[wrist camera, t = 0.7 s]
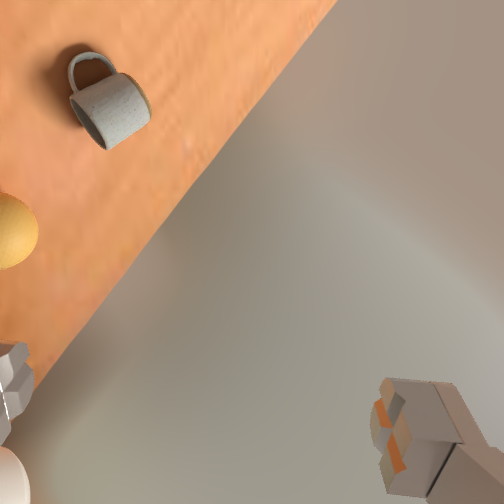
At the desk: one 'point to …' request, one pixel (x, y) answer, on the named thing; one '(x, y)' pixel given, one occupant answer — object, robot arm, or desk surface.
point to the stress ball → (15, 231)
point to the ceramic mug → (109, 104)
